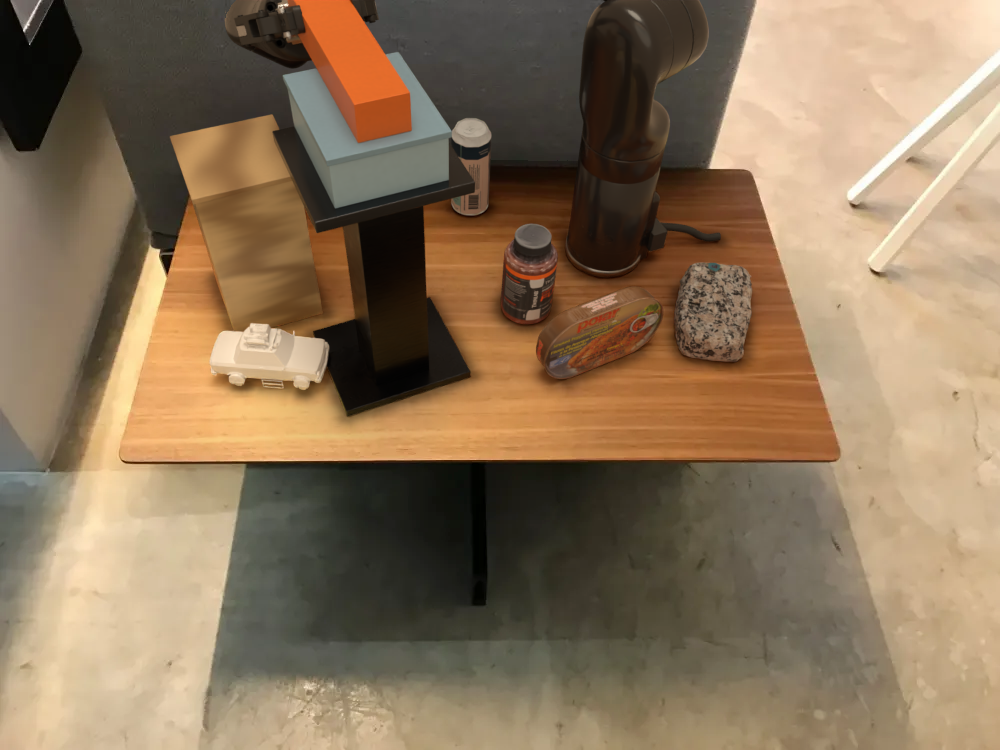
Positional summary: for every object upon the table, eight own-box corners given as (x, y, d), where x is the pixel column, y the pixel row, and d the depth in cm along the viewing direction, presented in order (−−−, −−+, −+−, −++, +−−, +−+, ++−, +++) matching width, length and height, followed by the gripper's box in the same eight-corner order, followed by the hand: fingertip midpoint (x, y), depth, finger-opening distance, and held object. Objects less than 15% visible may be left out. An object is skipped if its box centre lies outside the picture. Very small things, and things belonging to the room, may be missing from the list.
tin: (542, 389, 93) (549, 338, 86) (528, 368, 94) (534, 317, 88) (657, 344, 97) (672, 292, 91) (642, 325, 99) (655, 273, 92)
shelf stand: (427, 296, 100) (420, 98, 79) (470, 377, 93) (475, 181, 72) (311, 330, 96) (271, 130, 75) (347, 417, 89) (314, 222, 68)
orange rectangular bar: (338, 13, 79) (334, -24, 76) (412, 131, 68) (410, 92, 65) (290, 22, 77) (284, -16, 74) (358, 143, 67) (353, 104, 64)
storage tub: (401, 100, 79) (398, 51, 75) (452, 181, 72) (452, 131, 68) (291, 125, 76) (282, 74, 72) (333, 211, 69) (326, 160, 65)
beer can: (495, 203, 111) (499, 125, 102) (475, 223, 109) (477, 145, 99) (464, 189, 113) (465, 110, 103) (444, 208, 110) (443, 130, 101)
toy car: (323, 397, 91) (315, 356, 85) (211, 388, 91) (196, 347, 85) (333, 354, 94) (326, 312, 89) (225, 346, 94) (212, 304, 89)
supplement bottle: (546, 331, 98) (555, 259, 89) (495, 322, 98) (500, 249, 89) (554, 294, 101) (564, 222, 93) (505, 285, 102) (510, 212, 93)
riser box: (299, 255, 104) (272, 113, 88) (325, 314, 98) (301, 173, 82) (213, 278, 101) (169, 135, 85) (234, 340, 95) (191, 199, 79)
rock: (672, 280, 104) (680, 253, 100) (744, 289, 103) (754, 262, 100) (671, 359, 96) (679, 332, 93) (749, 369, 96) (760, 343, 92)
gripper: (213, -6, 84) (231, -21, 69) (353, -30, 88) (399, -49, 73) (236, 74, 87) (258, 76, 72) (370, 47, 91) (417, 44, 76)
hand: (329, 13), depth 73 cm, fingers closed on orange rectangular bar, 4 cm apart
